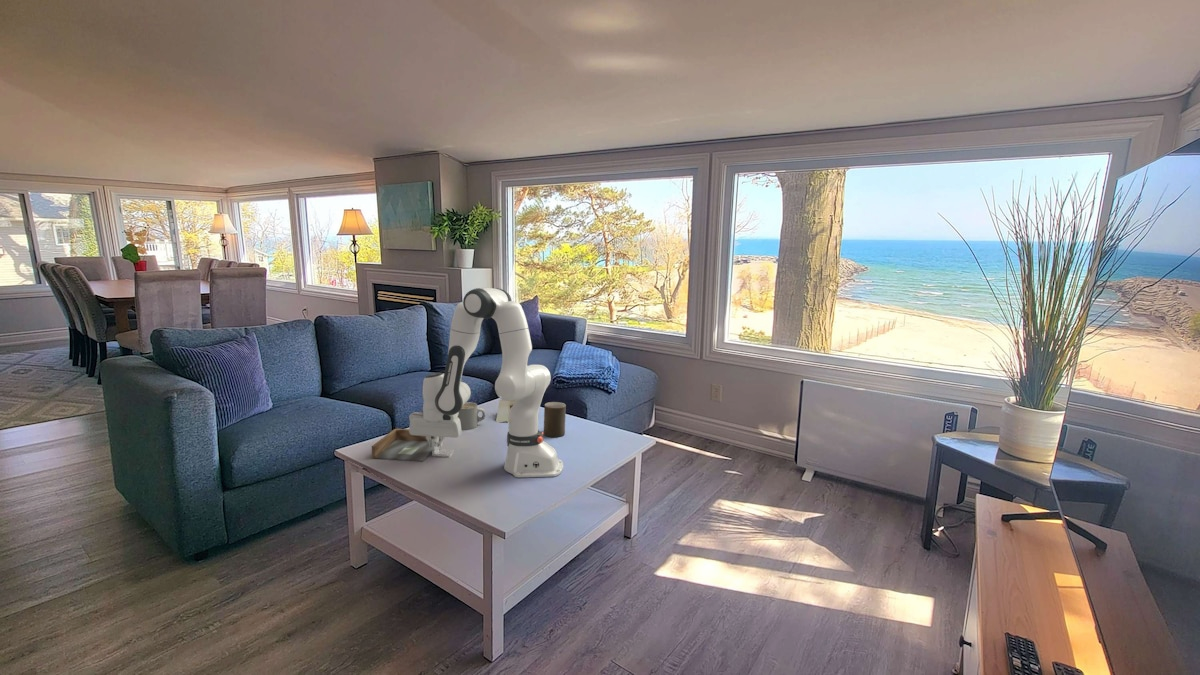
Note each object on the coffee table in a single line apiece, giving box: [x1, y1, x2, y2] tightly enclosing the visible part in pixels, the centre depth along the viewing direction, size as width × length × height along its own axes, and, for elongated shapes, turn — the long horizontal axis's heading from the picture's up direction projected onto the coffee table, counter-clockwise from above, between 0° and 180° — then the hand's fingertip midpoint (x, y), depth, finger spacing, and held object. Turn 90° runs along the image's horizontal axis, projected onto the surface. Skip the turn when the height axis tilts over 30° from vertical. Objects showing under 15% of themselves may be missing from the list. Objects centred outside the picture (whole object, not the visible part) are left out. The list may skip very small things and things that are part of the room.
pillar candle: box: [542, 401, 567, 438], centre depth 226 cm, size 10×10×15 cm
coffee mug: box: [458, 401, 486, 431], centre depth 232 cm, size 13×10×10 cm
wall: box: [495, 399, 515, 423], centre depth 248 cm, size 16×9×15 cm
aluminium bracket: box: [431, 437, 455, 458], centre depth 200 cm, size 7×5×7 cm
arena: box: [371, 428, 441, 462], centre depth 203 cm, size 20×20×5 cm
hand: (435, 446), depth 200 cm, fingers closed
